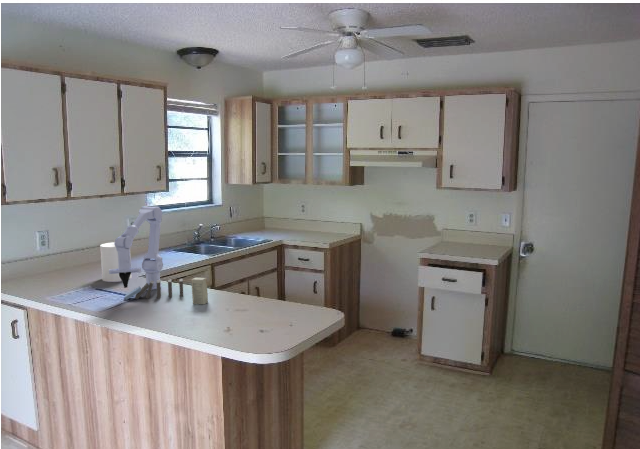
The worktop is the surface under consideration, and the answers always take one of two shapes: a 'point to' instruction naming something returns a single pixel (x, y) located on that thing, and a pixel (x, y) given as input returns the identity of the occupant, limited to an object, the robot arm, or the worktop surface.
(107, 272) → the canister
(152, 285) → the domino
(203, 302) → the skincare box
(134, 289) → the domino
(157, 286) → the domino
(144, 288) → the domino
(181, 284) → the domino
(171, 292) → the domino
